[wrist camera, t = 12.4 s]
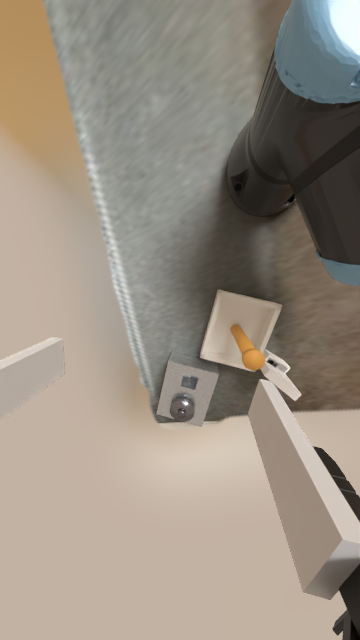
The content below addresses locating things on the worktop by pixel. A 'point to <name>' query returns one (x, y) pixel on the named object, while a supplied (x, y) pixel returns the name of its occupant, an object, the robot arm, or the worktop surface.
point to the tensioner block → (187, 388)
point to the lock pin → (247, 350)
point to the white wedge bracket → (279, 374)
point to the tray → (248, 315)
